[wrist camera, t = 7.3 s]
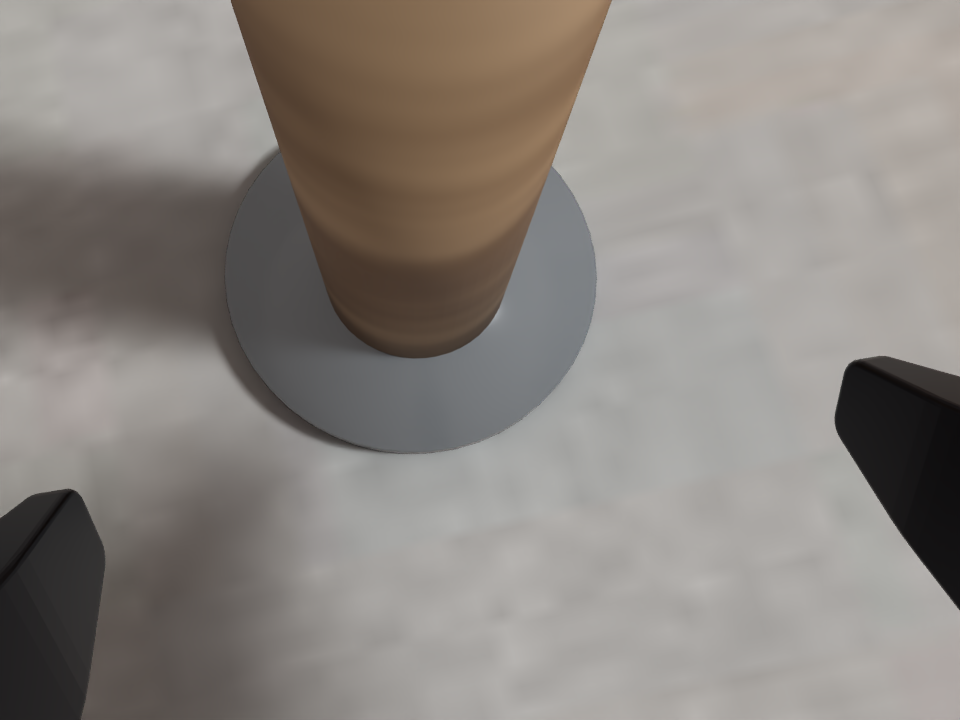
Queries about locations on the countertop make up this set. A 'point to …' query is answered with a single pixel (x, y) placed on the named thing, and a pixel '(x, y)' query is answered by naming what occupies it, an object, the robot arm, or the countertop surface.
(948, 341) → the countertop surface
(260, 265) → the coaster
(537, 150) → the pepper mill
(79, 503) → the robot arm
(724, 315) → the countertop surface
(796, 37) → the countertop surface
